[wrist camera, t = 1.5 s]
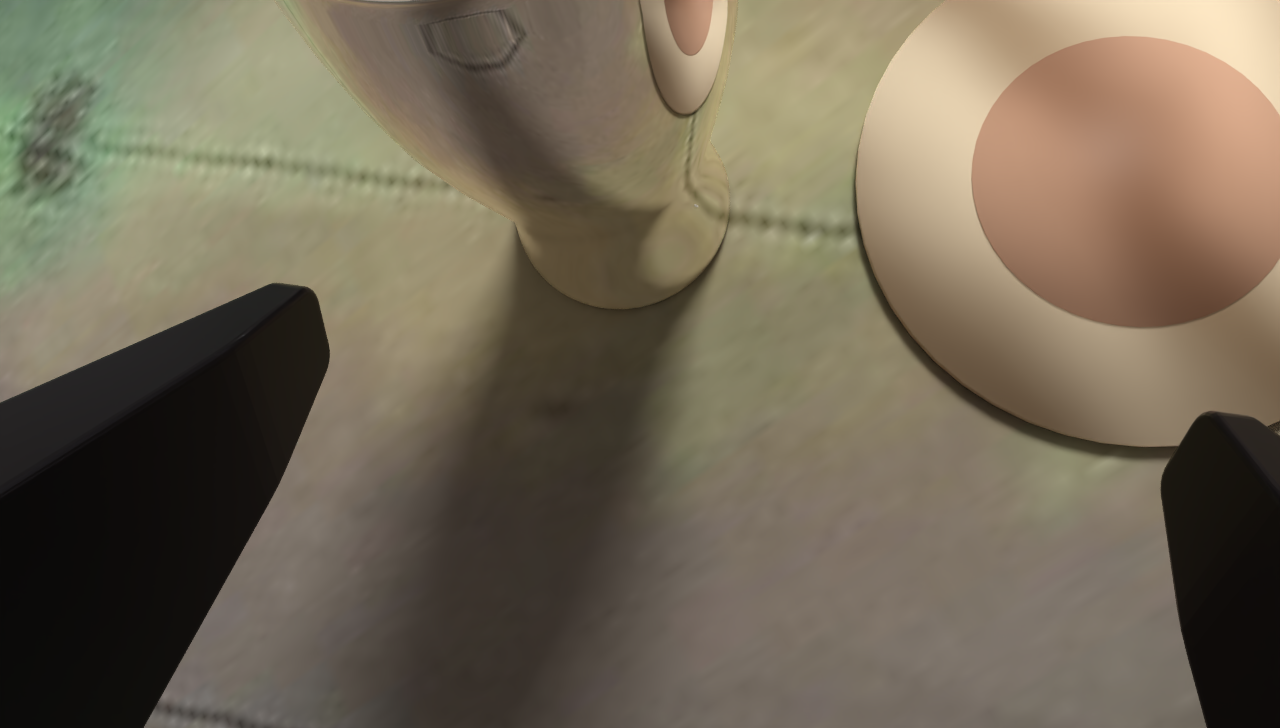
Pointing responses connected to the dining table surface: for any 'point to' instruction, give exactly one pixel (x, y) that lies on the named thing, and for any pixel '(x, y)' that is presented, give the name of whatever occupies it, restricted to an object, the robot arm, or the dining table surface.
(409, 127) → the silver tall cup
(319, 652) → the dining table surface
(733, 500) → the dining table surface
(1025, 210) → the coaster
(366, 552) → the dining table surface
